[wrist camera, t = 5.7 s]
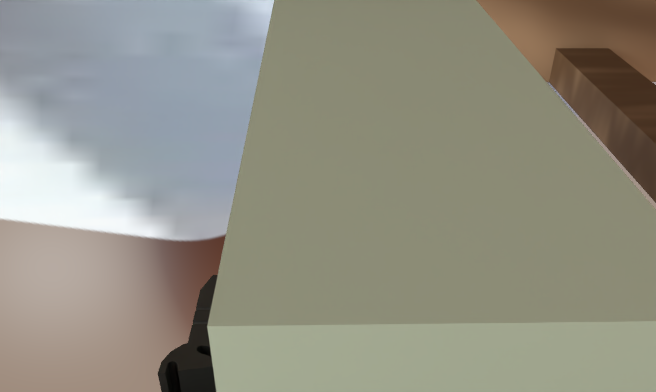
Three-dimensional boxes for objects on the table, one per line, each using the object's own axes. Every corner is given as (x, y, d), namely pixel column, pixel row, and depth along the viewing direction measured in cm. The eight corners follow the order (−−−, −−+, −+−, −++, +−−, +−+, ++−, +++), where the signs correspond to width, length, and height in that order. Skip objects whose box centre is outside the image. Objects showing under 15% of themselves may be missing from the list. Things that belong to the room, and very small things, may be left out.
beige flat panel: (290, -77, 15) (206, 326, 3) (458, -77, 15) (963, 317, 3) (301, 331, 23) (287, 901, 11) (413, 330, 23) (523, 894, 11)
